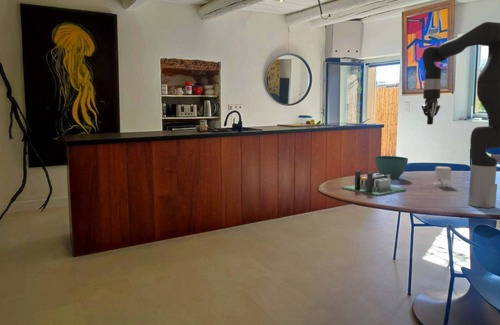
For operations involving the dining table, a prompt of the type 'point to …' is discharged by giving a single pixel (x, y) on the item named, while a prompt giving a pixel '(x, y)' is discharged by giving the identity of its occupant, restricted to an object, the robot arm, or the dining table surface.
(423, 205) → the dining table surface
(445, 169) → the security camera
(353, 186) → the heatsink board
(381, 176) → the grey flat bar
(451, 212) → the dining table surface
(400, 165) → the plant pot
